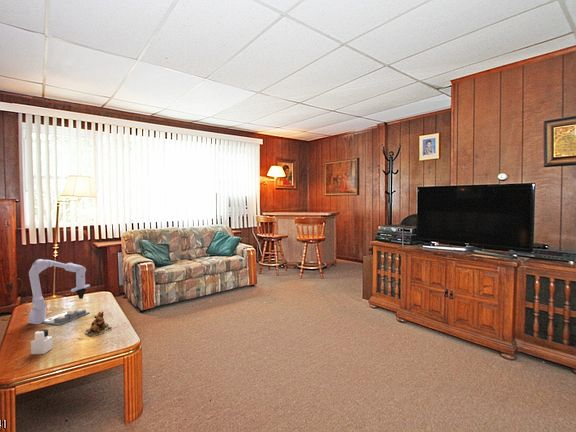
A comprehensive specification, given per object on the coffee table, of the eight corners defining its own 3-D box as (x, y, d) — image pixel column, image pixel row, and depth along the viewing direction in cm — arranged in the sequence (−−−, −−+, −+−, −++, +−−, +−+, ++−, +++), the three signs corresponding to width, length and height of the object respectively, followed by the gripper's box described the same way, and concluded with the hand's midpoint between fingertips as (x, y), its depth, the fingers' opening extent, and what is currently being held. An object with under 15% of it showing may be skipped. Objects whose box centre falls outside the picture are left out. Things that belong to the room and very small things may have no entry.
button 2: (74, 314, 231) (74, 310, 231) (79, 312, 235) (79, 308, 234) (79, 314, 230) (79, 310, 230) (83, 313, 234) (83, 309, 233)
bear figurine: (80, 333, 201) (79, 315, 200) (103, 325, 214) (103, 308, 213) (92, 338, 194) (92, 319, 194) (115, 329, 207) (115, 311, 207)
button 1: (56, 321, 217) (56, 317, 217) (62, 319, 221) (61, 315, 221) (61, 321, 216) (60, 317, 216) (66, 319, 220) (66, 315, 220)
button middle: (65, 315, 224) (65, 311, 224) (71, 313, 228) (70, 309, 228) (70, 315, 223) (70, 311, 223) (75, 313, 227) (75, 309, 227)
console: (39, 322, 217) (38, 318, 217) (70, 311, 240) (70, 306, 240) (59, 325, 213) (58, 320, 213) (89, 313, 236) (89, 309, 236)
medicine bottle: (39, 348, 179) (39, 328, 179) (52, 348, 180) (52, 327, 180) (30, 354, 172) (30, 333, 172) (44, 354, 173) (43, 333, 172)
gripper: (76, 283, 230) (76, 301, 231) (92, 279, 244) (93, 296, 245) (68, 283, 232) (69, 301, 232) (85, 278, 246) (86, 295, 247)
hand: (81, 298), depth 239 cm, fingers closed
